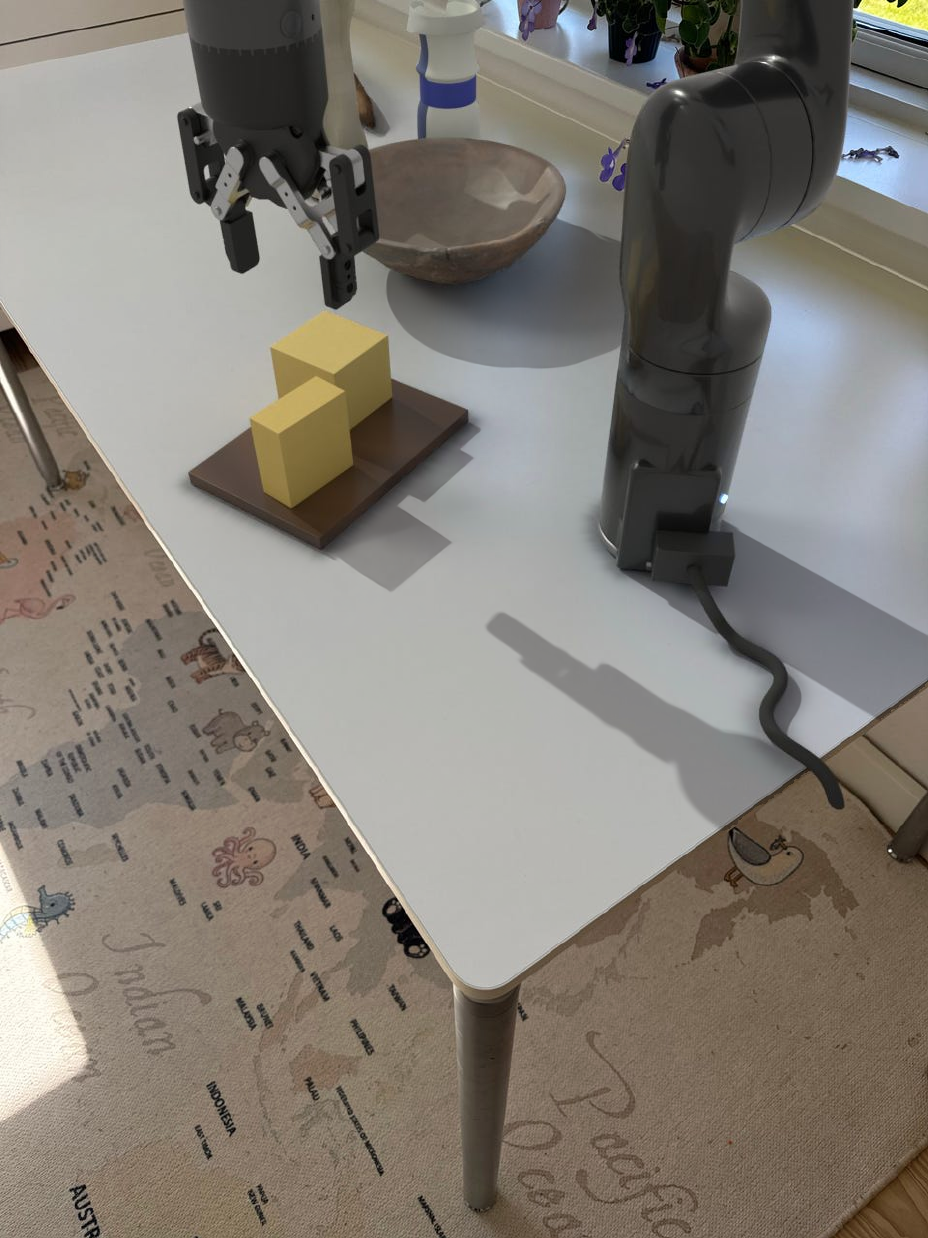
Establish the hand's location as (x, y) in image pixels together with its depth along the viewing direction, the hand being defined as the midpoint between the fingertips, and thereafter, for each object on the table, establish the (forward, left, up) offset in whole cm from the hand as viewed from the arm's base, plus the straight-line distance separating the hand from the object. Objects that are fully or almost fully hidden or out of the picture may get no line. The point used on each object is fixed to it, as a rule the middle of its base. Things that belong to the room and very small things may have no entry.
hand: (291, 285), depth 69 cm
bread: (+87, +18, -18) cm, 90 cm away
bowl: (+38, -5, -18) cm, 42 cm away
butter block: (+10, +1, -17) cm, 20 cm away
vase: (+54, +10, -18) cm, 58 cm away
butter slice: (0, +1, -17) cm, 17 cm away
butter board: (+5, 0, -18) cm, 19 cm away
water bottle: (+56, -3, -18) cm, 59 cm away
